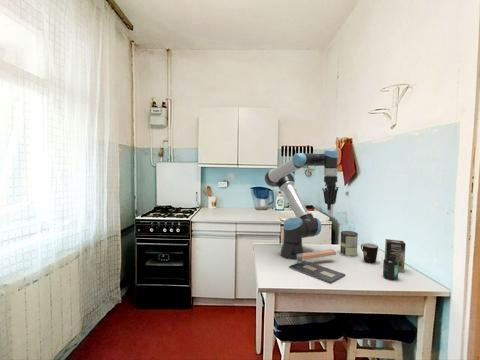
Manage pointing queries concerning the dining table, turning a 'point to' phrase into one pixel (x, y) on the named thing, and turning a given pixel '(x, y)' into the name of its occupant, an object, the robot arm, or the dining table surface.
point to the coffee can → (349, 243)
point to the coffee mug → (369, 252)
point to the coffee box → (396, 251)
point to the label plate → (317, 271)
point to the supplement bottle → (390, 267)
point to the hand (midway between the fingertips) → (330, 215)
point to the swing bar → (315, 254)
